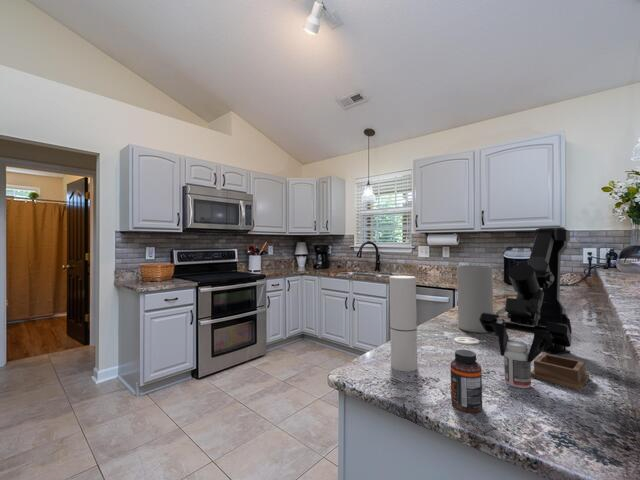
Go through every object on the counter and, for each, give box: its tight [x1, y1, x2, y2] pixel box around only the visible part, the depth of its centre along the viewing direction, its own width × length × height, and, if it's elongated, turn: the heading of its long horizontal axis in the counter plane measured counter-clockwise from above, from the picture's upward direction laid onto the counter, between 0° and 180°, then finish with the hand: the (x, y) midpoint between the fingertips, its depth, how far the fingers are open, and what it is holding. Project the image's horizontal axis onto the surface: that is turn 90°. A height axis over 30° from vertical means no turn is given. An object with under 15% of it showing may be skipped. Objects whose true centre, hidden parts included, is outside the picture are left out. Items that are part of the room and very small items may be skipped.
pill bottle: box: [503, 340, 532, 389], centre depth 74 cm, size 5×5×10 cm
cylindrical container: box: [388, 275, 418, 372], centre depth 85 cm, size 7×7×25 cm
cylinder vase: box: [456, 264, 494, 334], centre depth 121 cm, size 12×12×25 cm
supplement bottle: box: [450, 349, 483, 414], centre depth 64 cm, size 6×6×11 cm
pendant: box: [453, 336, 487, 346], centre depth 106 cm, size 7×11×1 cm, turn 94°
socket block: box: [531, 352, 590, 391], centre depth 77 cm, size 10×10×4 cm
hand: (515, 358), depth 73 cm, fingers closed on pill bottle, 5 cm apart
